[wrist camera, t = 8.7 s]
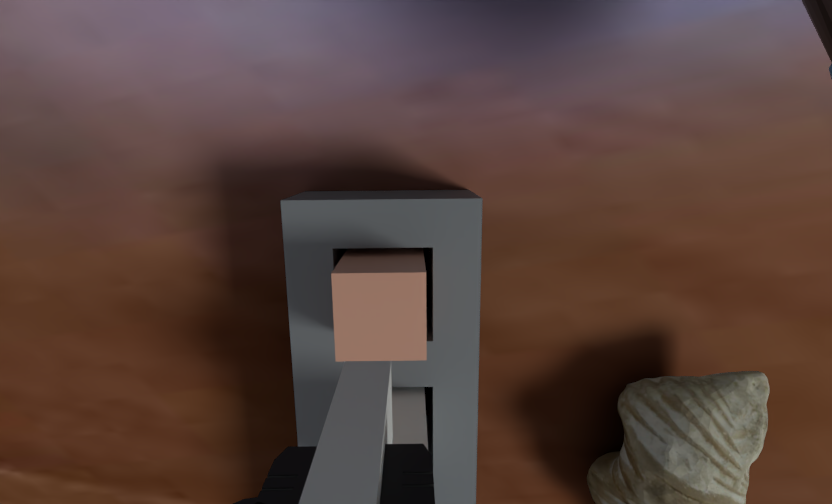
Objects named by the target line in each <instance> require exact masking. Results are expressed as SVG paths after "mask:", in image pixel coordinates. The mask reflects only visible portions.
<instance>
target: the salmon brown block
mask: <svg viewBox="0 0 832 504" xmlns="http://www.w3.org/2000/svg"><path fill="white" fill-rule="evenodd" d="M331 280H332V300H333V320H334V340H335V360H336V362H343V361H416V360H427V328H426V267H425V259H424V252H423V248H348V249H347V250H346V252H345V253H344V255H343V256H342V258H341V259H340V261H339V262H338V264H337V265H336V267H335V268H334V270H333V271H332V273H331Z"/></svg>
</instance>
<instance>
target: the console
mask: <svg viewBox="0 0 832 504" xmlns="http://www.w3.org/2000/svg"><path fill="white" fill-rule="evenodd" d="M280 201H281V215H282V229H283V243H284V257H285V271H286V285H287V299H288V313H289V327H290V341H291V355H292V369H293V383H294V397H295V411H296V425H297V439H298V447H299V446H318V442H319V439H320V436H321V433H322V430H323V427H324V424H325V421H326V418H327V415H328V412H329V409H330V405H331V402H332V399H333V396H334V393H335V390H336V387H337V384H338V381H339V378H340V375H341V371H342V368H343V365H344V362H345V361H343V362H336V360H335V340H334V320H333V300H332V280H331V273H332V271H333V270H334V268H335V267H336V265H337V264H338V262H339V261H340V259H341V258H342V256H343V255H344V253H345V252H346V250H347V249H348V248H424V247H429V307H426V328H427V360H416V361H391V379H392V387H429V415H426V422H427V439H428V451H429V453H430V454H431V455H432V462H433V478H434V494H435V504H476V469H477V423H478V377H479V331H480V285H481V239H482V198H481V197H479V196H478V195H476V194H475V193H473V192H471V191H470V190H395V191H305V192H302V193H299V194H297V195H294V196H291V197H289V198H286V199H283V200H280Z"/></svg>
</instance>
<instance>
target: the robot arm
mask: <svg viewBox="0 0 832 504" xmlns="http://www.w3.org/2000/svg"><path fill="white" fill-rule="evenodd" d="M802 2H803V4H804V6H805V8H806V10H807V12H808V14H809V17H810V19H811V21H812V23H813V25H814V27H815V29H816V31H817V33H818V35H819V37H820V39H821V41H822V43H823V45H824V47H825V49H826V52H827V54H828V56H829V58H830V60H831V62H832V0H802ZM829 71H830V75H831V79H832V64H831V66H830V67H829ZM392 440H393V424H392V379H391V361H345V362H344V365H343V368H342V371H341V375H340V378H339V381H338V384H337V387H336V390H335V393H334V396H333V399H332V402H331V405H330V409H329V412H328V415H327V418H326V421H325V424H324V427H323V430H322V433H321V436H320V439H319V442H318V446H299V447H287V448H286V449H285V450H284V451H283V452H282V453H281V454H280V455H279V456H278V457H277V458H276V459H275V460H274V462H273V464H272V466H271V469H270V471H269V473H268V477H267V478H266V480H265V482H264V484H263V487H262V491H260V493H259V495H258V497H255V498H249V499H243V500H241V501H238V502H236V503H234V504H435V494H434V478H433V462H432V455H431V454H430V453H429V451H428V450H427V448H426V447H425V445H424V444H392Z"/></svg>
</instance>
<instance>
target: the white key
mask: <svg viewBox="0 0 832 504" xmlns="http://www.w3.org/2000/svg"><path fill="white" fill-rule="evenodd" d="M392 424H393V440H392V444H424V445H425V447H426V448H427V450H428V439H427V422H426V405H425V389H424V387H392Z"/></svg>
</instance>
